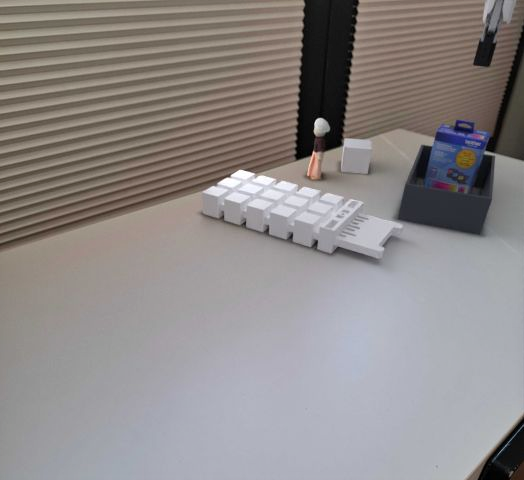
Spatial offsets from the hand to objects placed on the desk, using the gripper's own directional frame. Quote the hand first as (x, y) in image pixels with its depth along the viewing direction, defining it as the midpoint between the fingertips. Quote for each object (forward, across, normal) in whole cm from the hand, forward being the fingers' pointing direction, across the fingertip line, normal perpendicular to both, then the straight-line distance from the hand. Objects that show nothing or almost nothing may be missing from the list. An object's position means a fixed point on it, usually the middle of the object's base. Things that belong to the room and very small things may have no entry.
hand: (481, 63), depth 100 cm
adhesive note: (+23, -4, +21) cm, 32 cm away
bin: (+23, -15, 0) cm, 28 cm away
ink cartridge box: (+23, -8, 0) cm, 24 cm away
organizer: (+23, -36, +24) cm, 49 cm away
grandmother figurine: (+23, -13, +28) cm, 39 cm away
